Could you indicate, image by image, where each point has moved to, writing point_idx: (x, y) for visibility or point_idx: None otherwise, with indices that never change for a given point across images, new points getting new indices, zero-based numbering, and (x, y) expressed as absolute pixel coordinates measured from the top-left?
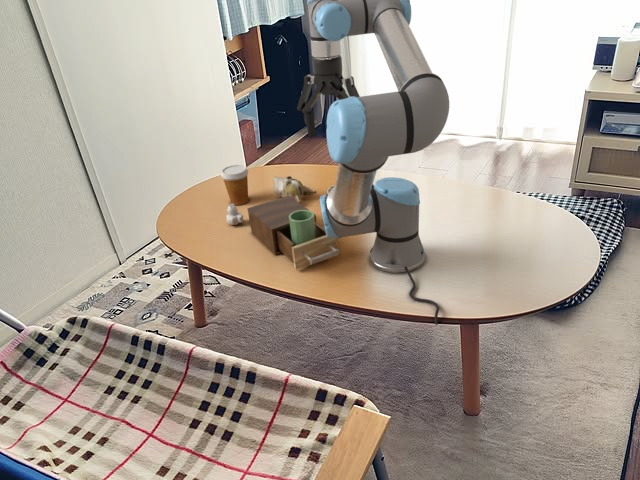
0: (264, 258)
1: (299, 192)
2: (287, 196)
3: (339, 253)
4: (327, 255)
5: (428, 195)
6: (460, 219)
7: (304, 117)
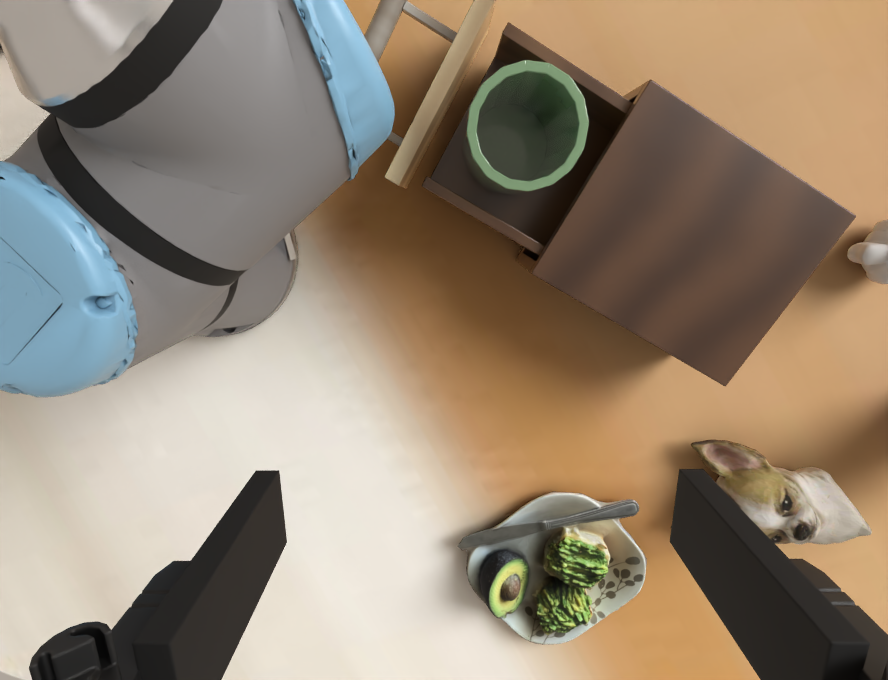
0: (638, 68)
1: (724, 490)
2: (726, 374)
3: None
4: None
5: (331, 631)
6: (173, 532)
7: (870, 622)
